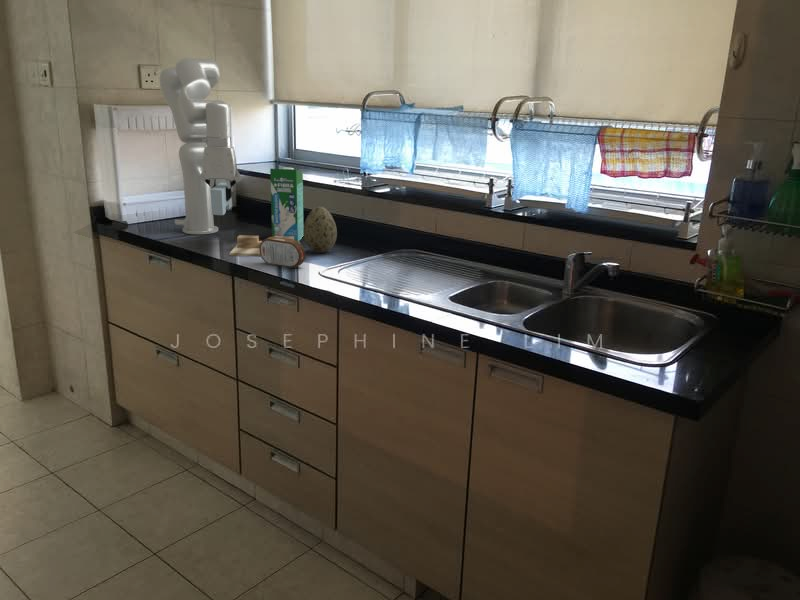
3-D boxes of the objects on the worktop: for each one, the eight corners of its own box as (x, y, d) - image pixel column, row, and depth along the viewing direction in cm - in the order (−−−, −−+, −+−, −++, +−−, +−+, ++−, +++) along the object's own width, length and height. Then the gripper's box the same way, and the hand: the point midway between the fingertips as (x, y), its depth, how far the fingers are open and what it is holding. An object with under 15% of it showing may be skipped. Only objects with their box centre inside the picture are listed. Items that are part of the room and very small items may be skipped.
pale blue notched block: (222, 215, 217) (221, 190, 214) (211, 214, 216) (210, 189, 214) (232, 206, 230) (231, 182, 227) (221, 206, 230) (220, 182, 227)
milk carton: (303, 236, 245) (302, 166, 237) (297, 242, 236) (296, 169, 229) (279, 235, 246) (277, 165, 238) (272, 240, 237) (270, 168, 230)
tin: (306, 267, 204) (305, 240, 202) (300, 270, 202) (299, 242, 199) (264, 261, 210) (263, 234, 208) (258, 263, 208) (257, 236, 205)
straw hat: (229, 255, 216) (229, 242, 215) (240, 242, 233) (240, 230, 232) (293, 256, 216) (292, 243, 215) (299, 244, 234) (299, 232, 232)
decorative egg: (307, 247, 229) (307, 203, 224) (339, 249, 228) (339, 204, 224) (300, 255, 219) (299, 208, 214) (333, 256, 218) (333, 210, 213)
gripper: (189, 142, 212) (193, 201, 218) (243, 144, 213) (245, 203, 219) (195, 140, 219) (199, 197, 225) (247, 142, 220) (249, 198, 226)
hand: (221, 199), depth 222 cm, fingers closed on pale blue notched block, 3 cm apart
